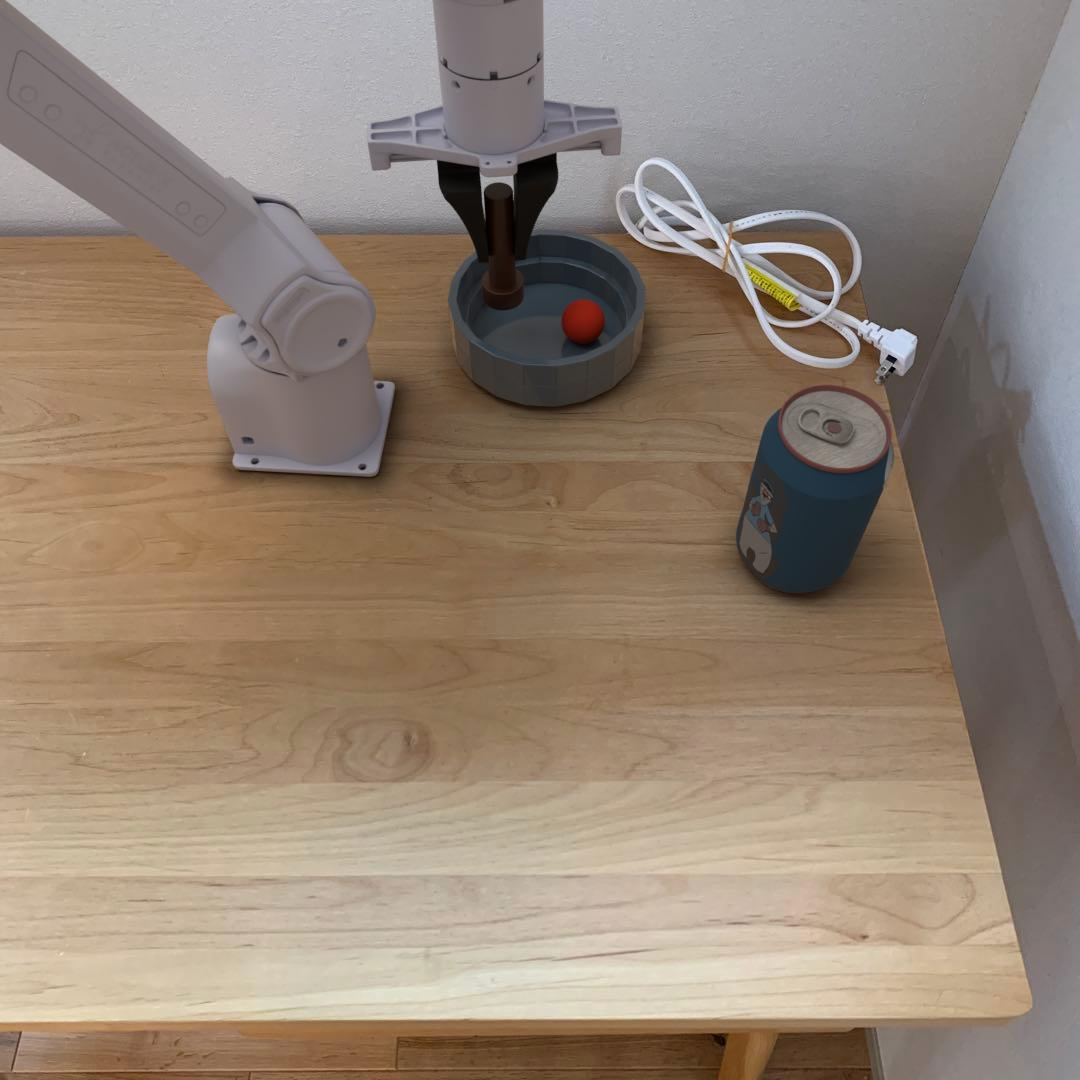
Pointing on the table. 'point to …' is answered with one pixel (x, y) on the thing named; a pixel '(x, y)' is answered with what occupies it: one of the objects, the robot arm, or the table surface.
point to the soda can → (814, 487)
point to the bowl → (550, 322)
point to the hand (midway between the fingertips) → (500, 251)
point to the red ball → (583, 321)
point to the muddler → (501, 250)
